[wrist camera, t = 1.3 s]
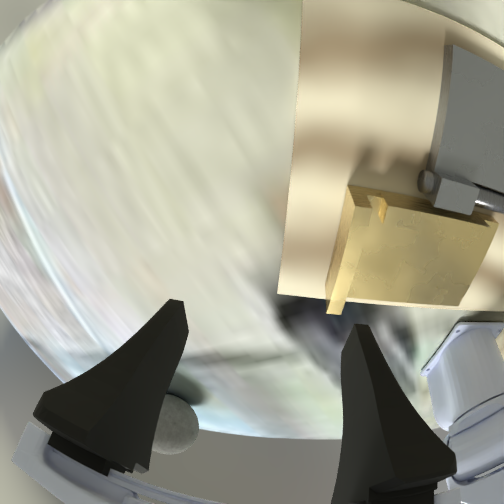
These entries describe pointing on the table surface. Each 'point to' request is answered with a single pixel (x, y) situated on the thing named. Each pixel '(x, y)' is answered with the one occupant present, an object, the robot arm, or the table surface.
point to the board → (370, 129)
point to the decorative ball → (175, 426)
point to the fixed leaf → (467, 136)
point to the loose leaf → (404, 250)
